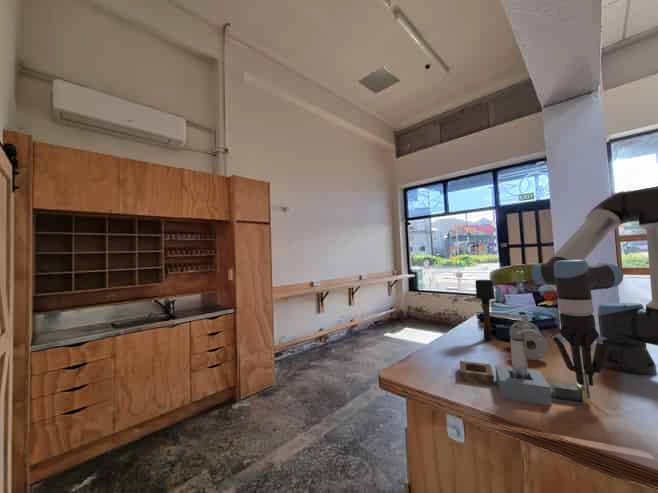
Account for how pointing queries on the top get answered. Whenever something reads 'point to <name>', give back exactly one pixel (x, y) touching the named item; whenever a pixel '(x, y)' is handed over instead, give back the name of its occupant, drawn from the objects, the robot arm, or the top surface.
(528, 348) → the valve
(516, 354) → the peg
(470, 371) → the brown square frame
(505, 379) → the socket block
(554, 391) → the yellow capped grey block
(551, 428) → the top surface
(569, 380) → the top surface
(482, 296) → the potato masher grenade
